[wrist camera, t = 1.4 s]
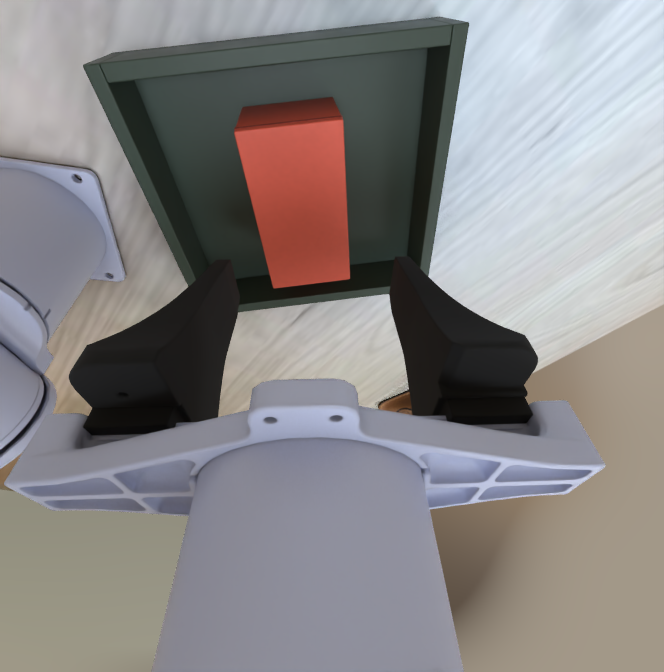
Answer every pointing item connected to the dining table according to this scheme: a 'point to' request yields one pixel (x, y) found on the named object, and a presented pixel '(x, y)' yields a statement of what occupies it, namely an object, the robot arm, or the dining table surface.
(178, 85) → the tote
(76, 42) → the dining table surface
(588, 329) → the dining table surface
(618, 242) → the dining table surface
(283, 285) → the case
